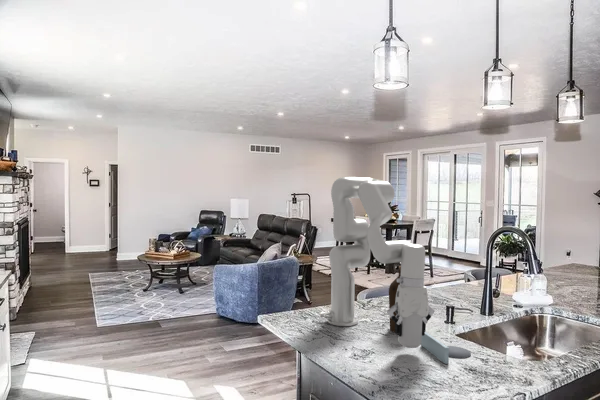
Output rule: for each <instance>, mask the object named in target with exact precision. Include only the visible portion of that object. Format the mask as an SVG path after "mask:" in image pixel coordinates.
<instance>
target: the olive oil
mask: <svg viewBox="0 0 600 400" xmlns="http://www.w3.org/2000/svg"><path fill="white" fill-rule="evenodd" d="M400 276H401V265H399V266H398V276H396V278H395V279H393V281H392V282H391V283H390V285H389V288H388V310H389V309H390V308H391V307H392V306H394V305H395V300H396V293H397V289H398V285H400V283H397V279H399V278H400ZM393 314H394V316H395V317H396V315H397V314H396V313H395V311H394V312H393ZM389 330H390V331H391V332H392V333H395V322H394V321H393V320H392V319H391V317H390V316H389ZM395 334H396V333H395Z"/></svg>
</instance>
